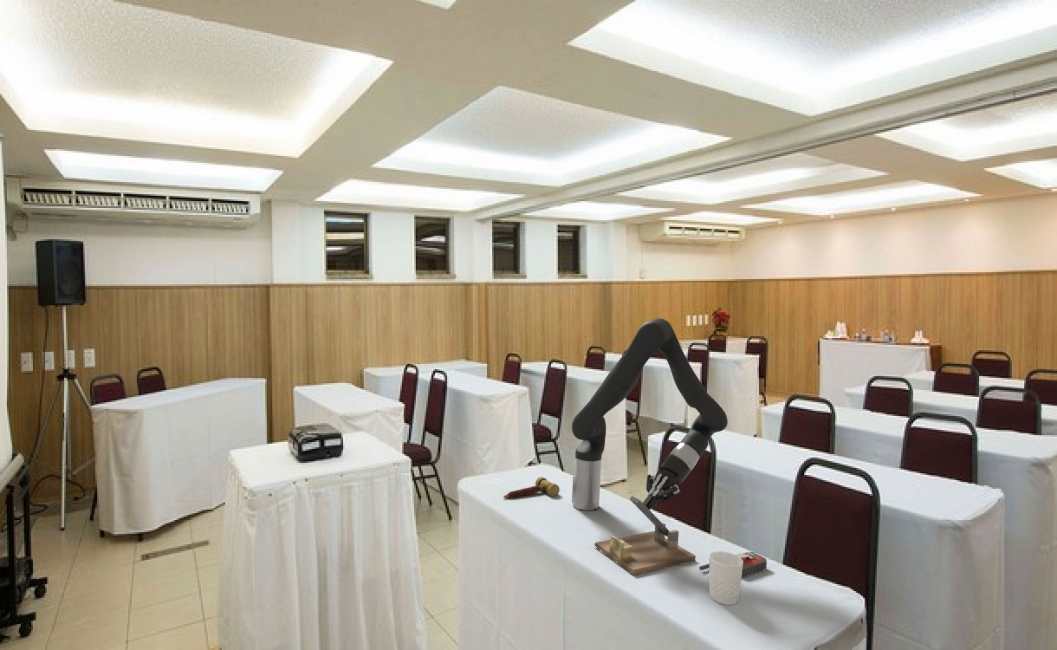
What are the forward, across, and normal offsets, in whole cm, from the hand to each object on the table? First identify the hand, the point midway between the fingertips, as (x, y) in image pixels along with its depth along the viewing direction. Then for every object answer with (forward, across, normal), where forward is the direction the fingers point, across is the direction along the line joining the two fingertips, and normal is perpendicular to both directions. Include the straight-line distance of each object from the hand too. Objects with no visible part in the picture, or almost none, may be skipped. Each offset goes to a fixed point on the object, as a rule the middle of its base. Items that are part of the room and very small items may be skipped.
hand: (645, 507), depth 161 cm
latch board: (+9, 0, +10) cm, 14 cm away
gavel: (+16, -56, +4) cm, 58 cm away
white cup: (+7, +27, +12) cm, 31 cm away
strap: (+1, 0, +4) cm, 4 cm away
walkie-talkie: (-3, +17, +23) cm, 29 cm away
